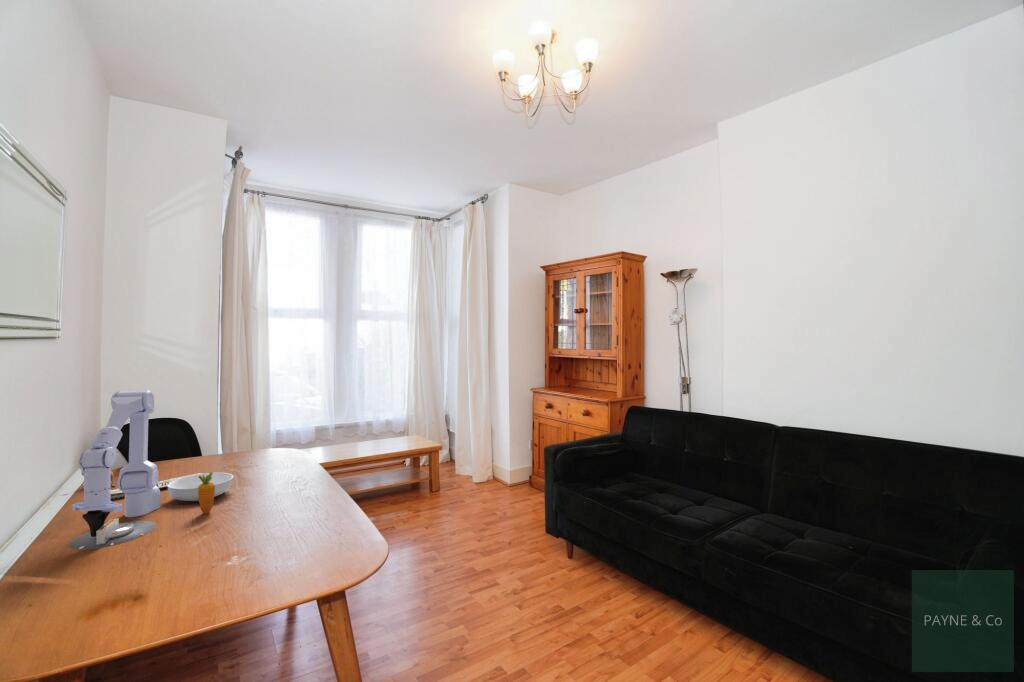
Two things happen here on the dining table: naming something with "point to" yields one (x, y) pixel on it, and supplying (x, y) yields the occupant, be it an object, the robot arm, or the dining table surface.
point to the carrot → (206, 493)
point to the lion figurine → (112, 480)
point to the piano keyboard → (160, 484)
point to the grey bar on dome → (113, 531)
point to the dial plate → (90, 543)
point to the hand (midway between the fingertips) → (97, 535)
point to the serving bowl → (189, 485)
